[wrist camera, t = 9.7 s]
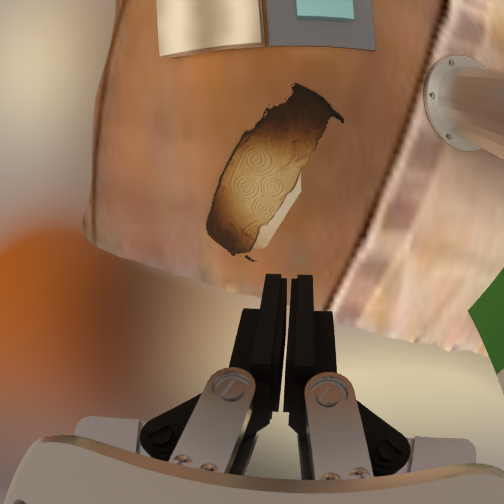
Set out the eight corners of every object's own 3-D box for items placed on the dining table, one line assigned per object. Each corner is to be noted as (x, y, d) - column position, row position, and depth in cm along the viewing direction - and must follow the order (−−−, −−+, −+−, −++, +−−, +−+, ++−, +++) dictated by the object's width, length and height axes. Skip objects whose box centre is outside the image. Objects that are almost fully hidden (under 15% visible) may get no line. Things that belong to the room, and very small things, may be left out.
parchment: (254, 264, 44) (253, 268, 43) (193, 234, 42) (191, 237, 42) (349, 114, 31) (351, 114, 30) (276, 72, 29) (276, 72, 29)
